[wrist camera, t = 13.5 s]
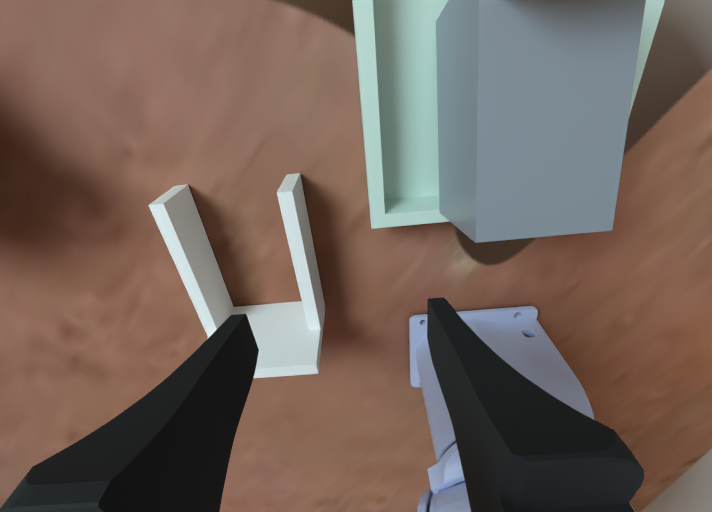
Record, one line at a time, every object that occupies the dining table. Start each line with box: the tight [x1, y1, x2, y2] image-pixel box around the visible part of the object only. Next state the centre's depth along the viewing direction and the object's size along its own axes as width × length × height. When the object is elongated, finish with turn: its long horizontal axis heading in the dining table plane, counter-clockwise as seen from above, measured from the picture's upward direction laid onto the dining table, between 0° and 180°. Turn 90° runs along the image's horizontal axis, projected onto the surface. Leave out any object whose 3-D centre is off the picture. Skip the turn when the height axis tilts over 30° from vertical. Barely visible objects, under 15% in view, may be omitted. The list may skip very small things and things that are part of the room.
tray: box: [352, 0, 665, 229], centre depth 16 cm, size 13×15×2 cm
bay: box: [149, 173, 325, 378], centre depth 20 cm, size 8×10×6 cm
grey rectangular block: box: [436, 0, 646, 242], centre depth 12 cm, size 5×9×9 cm, turn 6°
